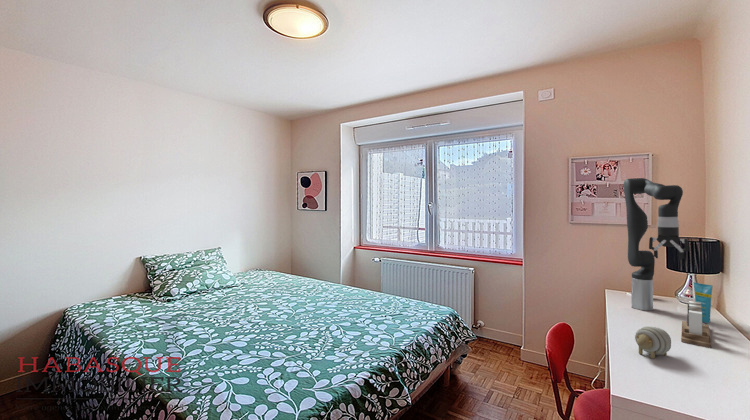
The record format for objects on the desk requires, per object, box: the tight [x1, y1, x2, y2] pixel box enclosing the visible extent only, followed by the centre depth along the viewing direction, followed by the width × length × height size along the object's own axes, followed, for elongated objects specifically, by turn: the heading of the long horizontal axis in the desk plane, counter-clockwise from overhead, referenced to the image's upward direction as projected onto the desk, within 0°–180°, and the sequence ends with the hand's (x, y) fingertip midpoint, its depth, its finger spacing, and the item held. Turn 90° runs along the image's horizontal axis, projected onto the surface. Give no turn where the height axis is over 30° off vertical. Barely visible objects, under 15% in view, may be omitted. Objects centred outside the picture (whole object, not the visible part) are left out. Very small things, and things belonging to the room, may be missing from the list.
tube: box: [693, 282, 713, 324], centre depth 159 cm, size 7×5×19 cm, turn 23°
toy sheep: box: [634, 326, 672, 360], centre depth 126 cm, size 11×17×11 cm, turn 114°
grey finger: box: [686, 310, 703, 336], centre depth 138 cm, size 4×3×11 cm, turn 43°
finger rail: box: [680, 300, 712, 349], centre depth 144 cm, size 9×28×12 cm, turn 135°
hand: (668, 259), depth 154 cm, fingers open, 8 cm apart
